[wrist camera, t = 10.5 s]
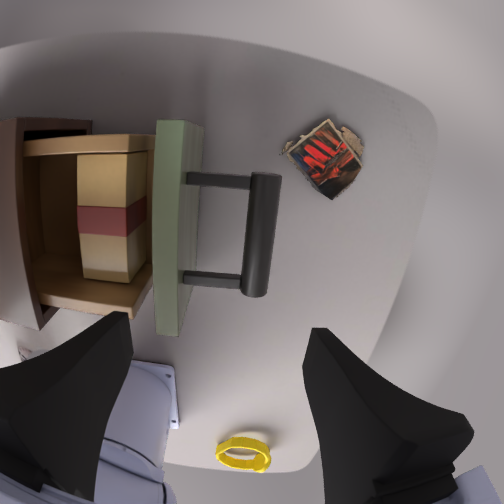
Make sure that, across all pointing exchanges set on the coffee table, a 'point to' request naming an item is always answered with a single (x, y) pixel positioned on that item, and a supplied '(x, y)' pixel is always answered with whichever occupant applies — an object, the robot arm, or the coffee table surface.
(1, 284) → the cabinet
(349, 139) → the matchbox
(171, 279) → the pullout
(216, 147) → the coffee table surface
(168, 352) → the coffee table surface
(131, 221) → the tan red striped block
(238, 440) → the yellow rubber band ring
